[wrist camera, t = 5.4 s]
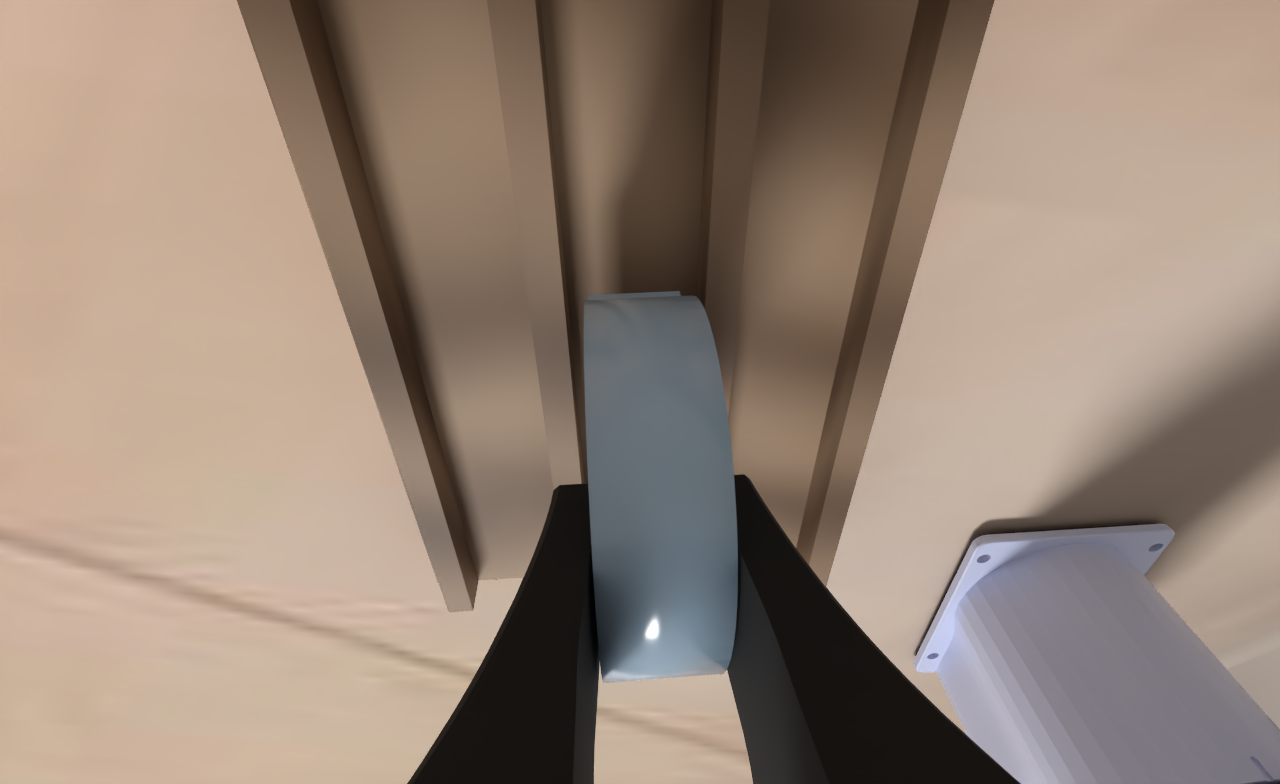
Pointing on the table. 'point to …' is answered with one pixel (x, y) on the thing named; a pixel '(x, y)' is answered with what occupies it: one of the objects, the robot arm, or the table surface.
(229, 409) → the table surface
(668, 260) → the rack
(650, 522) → the blue-grey thick rounded disc
